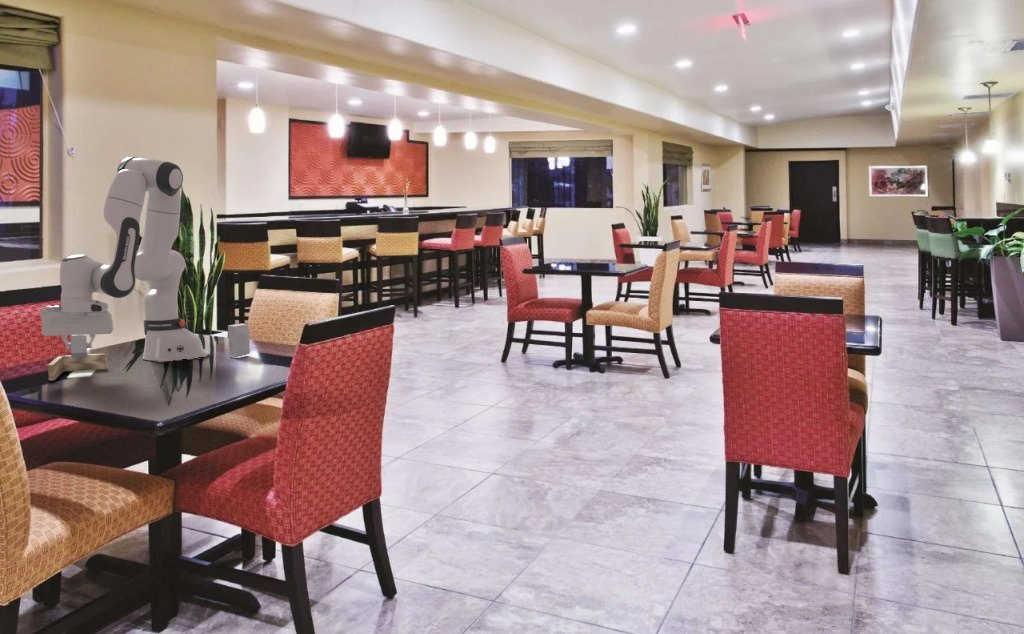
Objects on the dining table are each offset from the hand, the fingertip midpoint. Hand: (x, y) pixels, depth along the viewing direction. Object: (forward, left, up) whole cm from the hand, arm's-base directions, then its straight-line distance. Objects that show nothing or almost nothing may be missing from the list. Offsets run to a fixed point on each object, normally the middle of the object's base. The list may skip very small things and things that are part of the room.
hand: (79, 348), depth 256 cm
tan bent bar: (+1, -4, -9) cm, 10 cm away
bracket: (0, -3, -3) cm, 4 cm away
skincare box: (-49, -19, -9) cm, 53 cm away
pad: (0, -4, -9) cm, 10 cm away
